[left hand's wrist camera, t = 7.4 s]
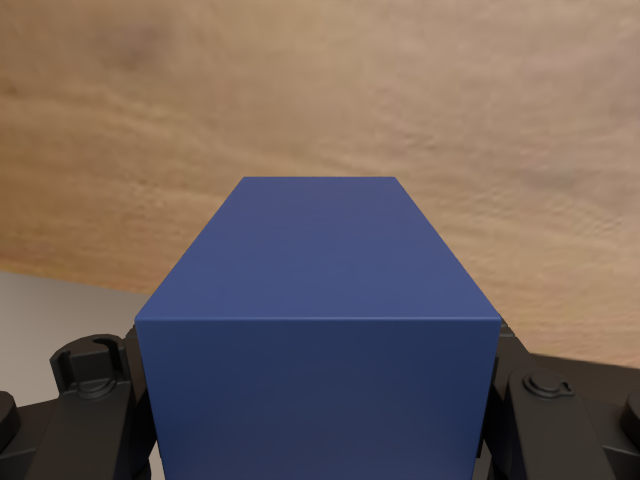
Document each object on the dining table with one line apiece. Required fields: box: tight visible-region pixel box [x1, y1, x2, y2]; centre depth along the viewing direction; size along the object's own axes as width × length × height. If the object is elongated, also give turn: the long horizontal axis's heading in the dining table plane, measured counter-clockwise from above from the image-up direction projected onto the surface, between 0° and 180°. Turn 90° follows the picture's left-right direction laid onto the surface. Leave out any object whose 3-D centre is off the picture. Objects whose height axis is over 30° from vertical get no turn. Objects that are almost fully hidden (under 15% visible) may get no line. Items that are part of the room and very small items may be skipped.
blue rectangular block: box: [135, 177, 502, 480], centre depth 12 cm, size 6×6×10 cm
